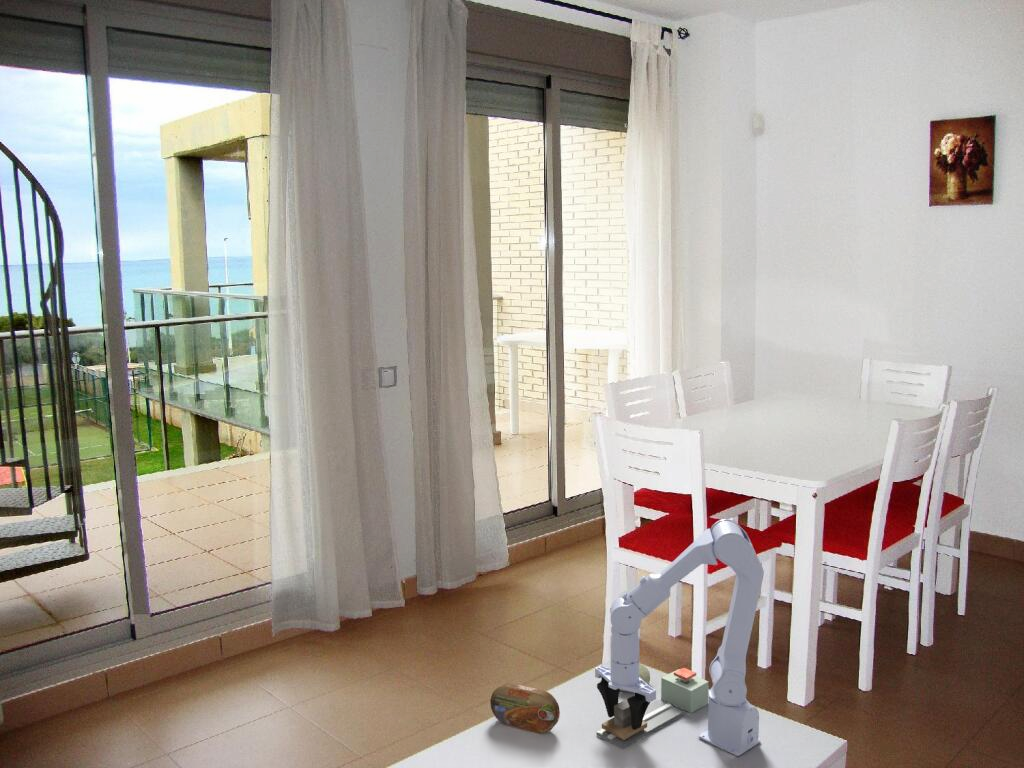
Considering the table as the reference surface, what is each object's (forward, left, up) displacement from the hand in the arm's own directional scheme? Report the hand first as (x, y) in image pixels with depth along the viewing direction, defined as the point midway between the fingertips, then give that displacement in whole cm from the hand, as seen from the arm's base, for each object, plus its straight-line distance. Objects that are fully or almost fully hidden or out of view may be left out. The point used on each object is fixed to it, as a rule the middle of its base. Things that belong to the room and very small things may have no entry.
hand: (624, 721), depth 184 cm
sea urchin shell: (+13, -17, -3) cm, 21 cm away
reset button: (0, -20, +2) cm, 20 cm away
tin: (+16, +12, -3) cm, 21 cm away
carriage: (0, 0, -1) cm, 1 cm away
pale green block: (0, -20, -3) cm, 20 cm away
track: (0, -5, -3) cm, 6 cm away
